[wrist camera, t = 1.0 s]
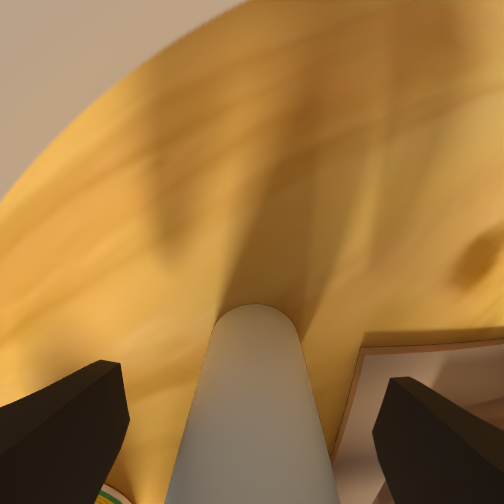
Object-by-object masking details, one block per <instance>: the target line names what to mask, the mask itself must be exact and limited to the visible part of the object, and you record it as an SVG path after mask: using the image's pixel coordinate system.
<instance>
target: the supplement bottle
mask: <svg viewBox="0 0 504 504" xmlns="http://www.w3.org/2000/svg"><path fill="white" fill-rule="evenodd" d="M94 504H132V503H131V502H130V501H129V500H128V499H127V498H126V497H124V496H123V495H122V494H121V493H119V492H118V491H116V490H114V489H113V488H111V487H109V486H107V485H106V484H103V486H102V488H101V490H100V493H99V495H98V497H97V499H96V501H95V503H94Z"/></svg>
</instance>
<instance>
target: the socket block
mask: <svg viewBox="0 0 504 504" xmlns="http://www.w3.org/2000/svg"><path fill="white" fill-rule="evenodd" d="M406 376H409V377H411V378H413V379H415V380H417V381H419V382H421V383H423V384H424V385H426V386H428V387H429V388H431V389H432V390H434V391H436V392H437V393H439V394H440V395H442V396H444V397H445V398H447V399H448V400H450V401H452V402H453V403H455V404H457V405H458V406H460V407H461V408H463V409H465V410H466V411H468V412H470V413H472V414H473V415H475V416H477V417H479V418H480V419H482V420H484V421H486V422H488V423H490V424H492V425H494V426H496V427H498V428H500V429H502V430H504V338H501V339H492V340H483V341H473V342H463V343H451V344H437V345H420V346H399V347H360V352H359V356H358V361H357V365H356V369H355V373H354V377H353V382H352V386H351V389H350V393H349V397H348V401H347V405H346V408H345V412H344V415H343V419H342V422H341V426H340V429H339V433H338V436H337V439H336V442H335V446H334V449H333V452H332V455H331V458H330V461H331V466H332V470H333V474H334V478H335V482H336V486H337V491H338V495H339V499H340V503H341V504H395V502H394V500H393V497H392V495H391V492H390V490H389V487H388V485H387V482H386V480H385V477H384V474H383V472H382V469H381V467H380V464H379V461H378V457H377V453H376V449H375V445H374V440H373V435H372V430H373V427H374V424H375V422H376V419H377V416H378V413H379V410H380V407H381V404H382V401H383V398H384V395H385V392H386V389H387V386H388V382H389V379H390V378H393V377H406Z"/></svg>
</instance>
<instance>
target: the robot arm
mask: <svg viewBox="0 0 504 504" xmlns="http://www.w3.org/2000/svg"><path fill="white" fill-rule="evenodd" d="M129 421H130V417H129V412H128V407H127V401H126V396H125V390H124V384H123V377H122V371H121V364H120V363H116V362H110V361H105V360H99V361H96V362H94V363H92V364H90V365H88V366H86V367H84V368H82V369H80V370H78V371H76V372H74V373H72V374H70V375H69V376H67V377H65V378H63V379H61V380H59V381H57V382H55V383H53V384H51V385H49V386H47V387H45V388H43V389H41V390H39V391H37V392H35V393H33V394H30V395H28V396H26V397H24V398H22V399H19V400H17V401H15V402H13V403H10V404H8V405H5V406H3V407H0V504H94V503H95V501H96V499H97V497H98V495H99V493H100V490H101V488H102V486H103V484H104V482H105V480H106V478H107V476H108V474H109V472H110V470H111V468H112V466H113V464H114V462H115V460H116V458H117V456H118V453H119V451H120V449H121V446H122V443H123V440H124V437H125V434H126V431H127V428H128V425H129ZM372 435H373V440H374V445H375V449H376V453H377V457H378V461H379V464H380V467H381V469H382V472H383V474H384V477H385V480H386V482H387V485H388V487H389V490H390V492H391V495H392V497H393V500H394V502H395V504H504V430H502V429H500V428H498V427H496V426H494V425H492V424H490V423H488V422H486V421H484V420H482V419H480V418H479V417H477V416H475V415H473V414H472V413H470V412H468V411H466V410H465V409H463V408H461V407H460V406H458V405H457V404H455V403H453V402H452V401H450V400H448V399H447V398H445V397H444V396H442V395H440V394H439V393H437V392H436V391H434V390H432V389H431V388H429V387H428V386H426V385H424V384H423V383H421V382H419V381H417V380H415V379H413V378H411V377H409V376H406V377H393V378H390V379H389V382H388V386H387V389H386V392H385V395H384V398H383V401H382V404H381V407H380V410H379V413H378V416H377V419H376V422H375V424H374V427H373V430H372Z"/></svg>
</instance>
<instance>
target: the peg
mask: <svg viewBox="0 0 504 504" xmlns="http://www.w3.org/2000/svg"><path fill="white" fill-rule="evenodd" d="M164 504H341V503H340V499H339V495H338V491H337V486H336V482H335V478H334V474H333V470H332V466H331V461H330V457H329V453H328V449H327V445H326V441H325V437H324V433H323V429H322V425H321V421H320V417H319V413H318V409H317V405H316V401H315V398H314V394H313V390H312V386H311V382H310V378H309V374H308V371H307V367H306V363H305V359H304V355H303V352H302V348H301V344H300V340H299V337H298V333H297V330H296V328H295V326H294V324H293V322H292V321H291V320H290V319H289V318H288V317H287V316H286V315H285V314H284V313H282V312H281V311H279V310H278V309H276V308H273V307H271V306H267V305H262V304H247V305H242V306H239V307H236V308H234V309H232V310H230V311H228V312H227V313H225V314H224V315H223V316H222V317H221V318H220V319H219V320H218V322H217V323H216V325H215V326H214V329H213V331H212V334H211V338H210V341H209V345H208V348H207V352H206V355H205V358H204V362H203V365H202V369H201V372H200V376H199V379H198V383H197V387H196V390H195V394H194V397H193V401H192V404H191V408H190V411H189V415H188V419H187V422H186V426H185V429H184V433H183V437H182V440H181V444H180V448H179V451H178V455H177V459H176V462H175V466H174V470H173V473H172V477H171V481H170V484H169V488H168V492H167V496H166V499H165V503H164Z"/></svg>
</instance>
